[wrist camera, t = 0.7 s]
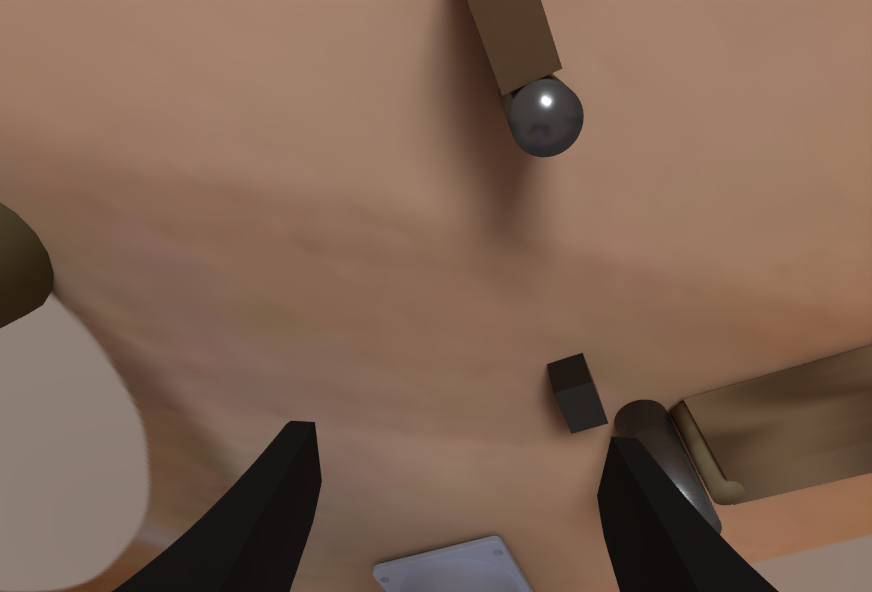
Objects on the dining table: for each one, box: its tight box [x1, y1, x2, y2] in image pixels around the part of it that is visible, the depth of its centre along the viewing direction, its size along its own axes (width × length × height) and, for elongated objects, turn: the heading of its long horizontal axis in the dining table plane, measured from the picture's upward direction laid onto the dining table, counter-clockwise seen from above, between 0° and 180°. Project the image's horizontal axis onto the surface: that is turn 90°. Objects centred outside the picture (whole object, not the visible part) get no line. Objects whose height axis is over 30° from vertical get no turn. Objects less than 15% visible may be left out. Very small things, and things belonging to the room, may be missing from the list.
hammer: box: [467, 0, 722, 535], centre depth 18 cm, size 22×4×6 cm, turn 24°
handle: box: [671, 345, 872, 505], centre depth 21 cm, size 13×2×5 cm, turn 114°
